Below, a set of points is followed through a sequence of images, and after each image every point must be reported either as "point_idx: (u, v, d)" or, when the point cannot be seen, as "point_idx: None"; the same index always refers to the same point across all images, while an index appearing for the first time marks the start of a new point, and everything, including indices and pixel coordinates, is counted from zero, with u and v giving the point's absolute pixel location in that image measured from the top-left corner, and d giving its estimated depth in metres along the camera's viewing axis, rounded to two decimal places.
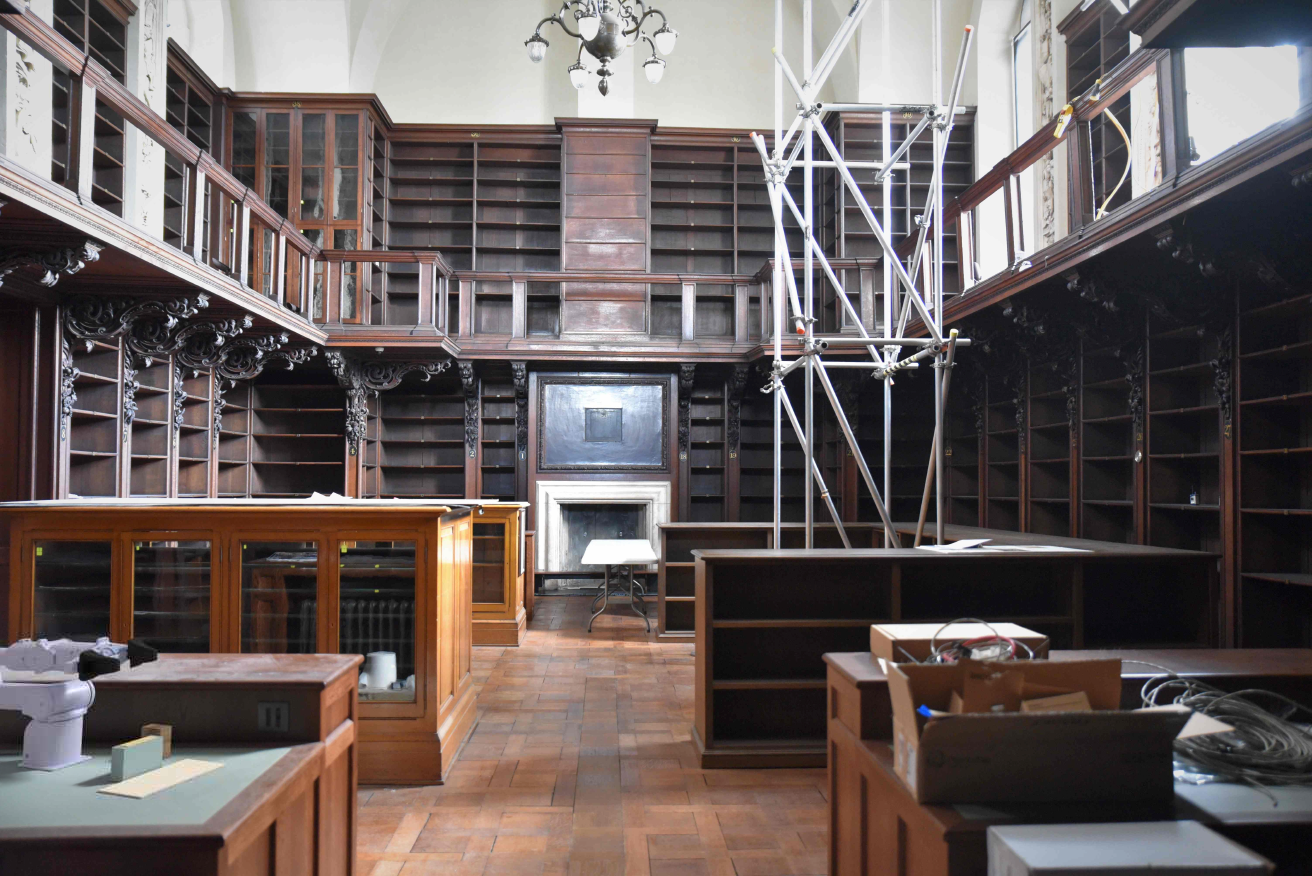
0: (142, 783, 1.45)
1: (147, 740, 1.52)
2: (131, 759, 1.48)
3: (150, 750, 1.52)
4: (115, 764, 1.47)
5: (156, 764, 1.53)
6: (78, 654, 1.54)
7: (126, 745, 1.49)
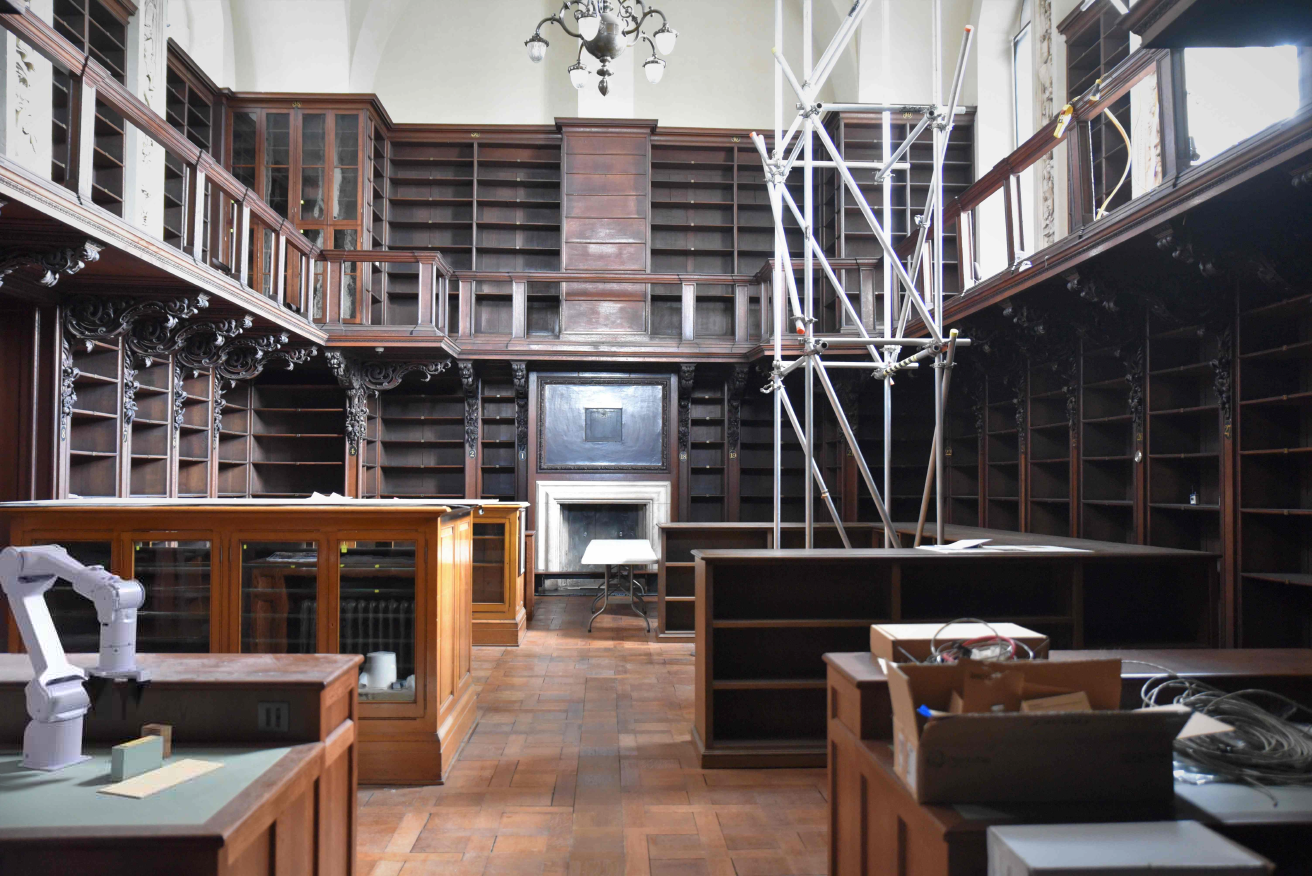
0: (142, 783, 1.45)
1: (147, 740, 1.52)
2: (131, 759, 1.48)
3: (150, 750, 1.52)
4: (115, 764, 1.47)
5: (156, 764, 1.53)
6: None
7: (126, 745, 1.49)
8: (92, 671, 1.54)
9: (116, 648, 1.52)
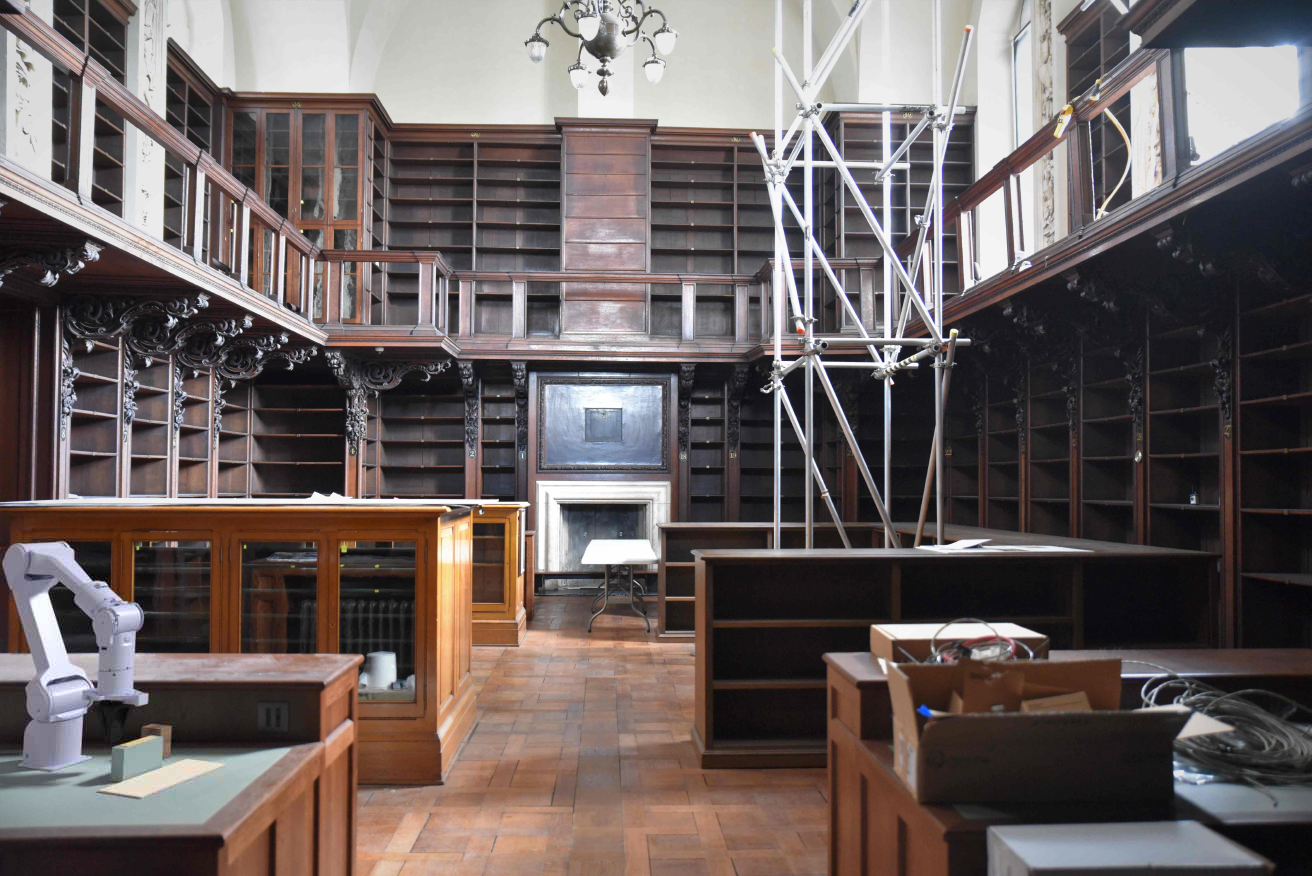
0: (142, 783, 1.45)
1: (147, 740, 1.52)
2: (131, 759, 1.48)
3: (150, 750, 1.52)
4: (115, 764, 1.47)
5: (155, 764, 1.53)
6: None
7: (126, 745, 1.49)
8: (90, 695, 1.53)
9: (114, 672, 1.52)
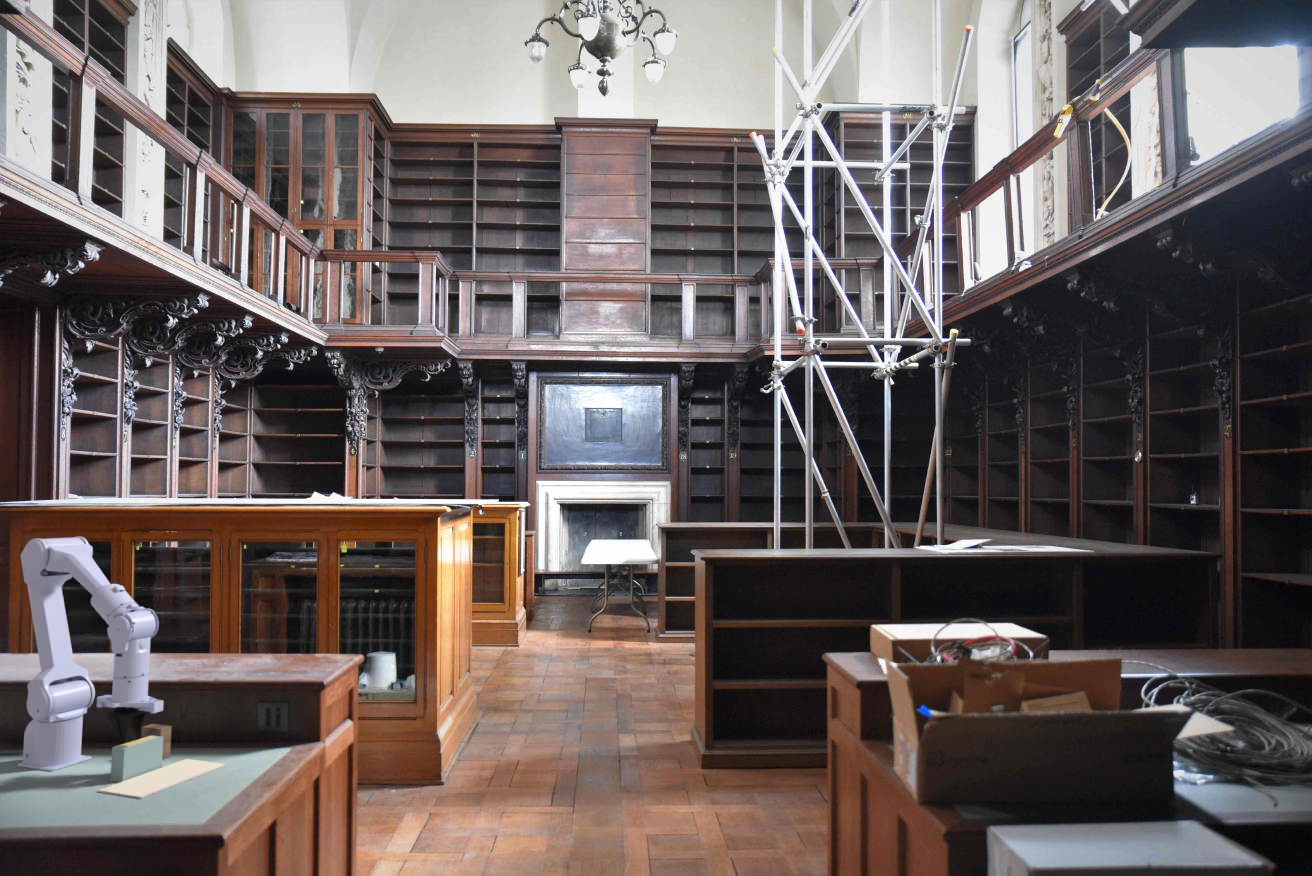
0: (142, 783, 1.45)
1: (147, 740, 1.52)
2: (131, 759, 1.48)
3: (150, 750, 1.52)
4: (115, 764, 1.47)
5: (155, 764, 1.53)
6: None
7: (126, 745, 1.49)
8: (105, 702, 1.52)
9: (129, 679, 1.50)
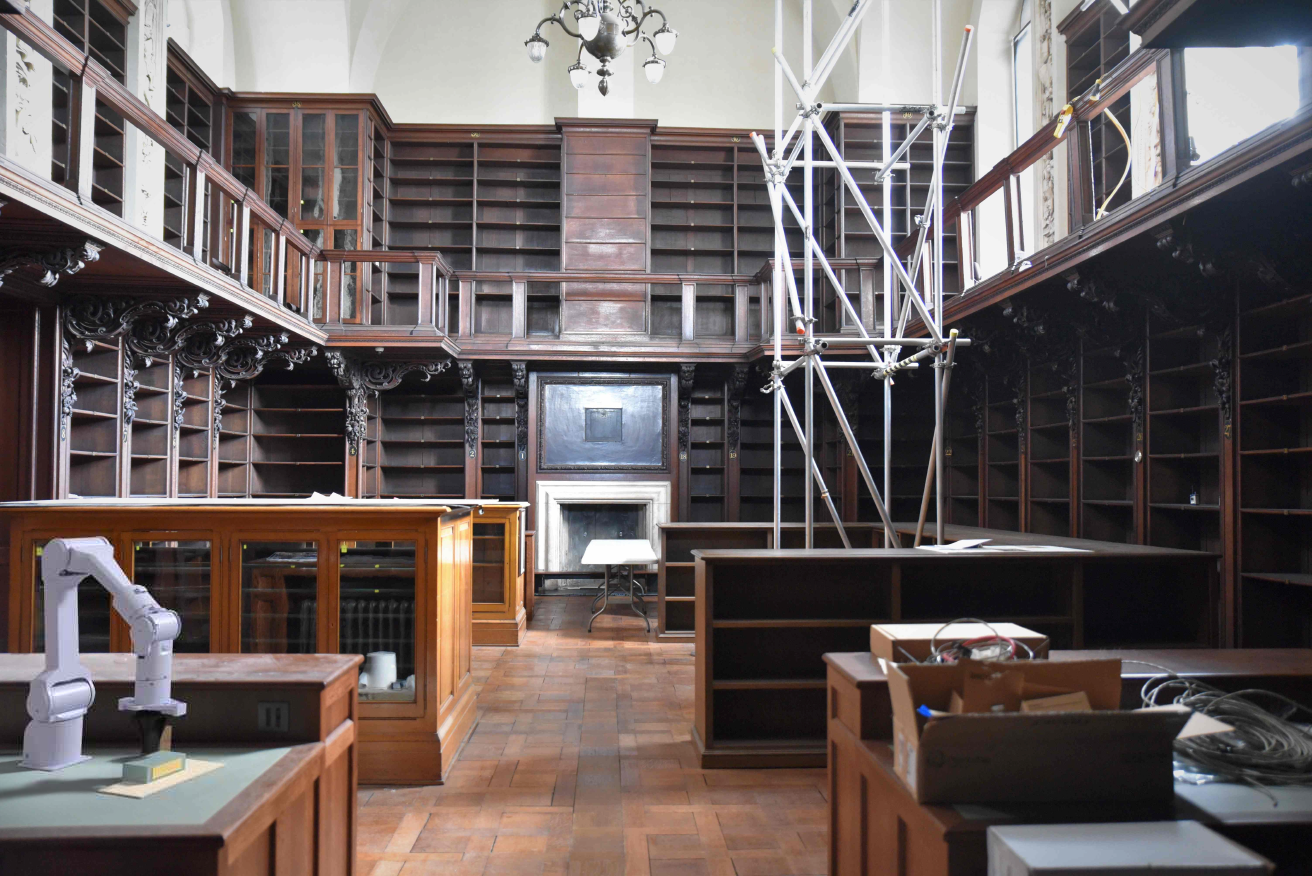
0: (142, 783, 1.45)
1: (171, 772, 1.50)
2: None
3: None
4: (135, 770, 1.46)
5: None
6: None
7: (154, 774, 1.46)
8: (127, 704, 1.50)
9: (152, 681, 1.49)
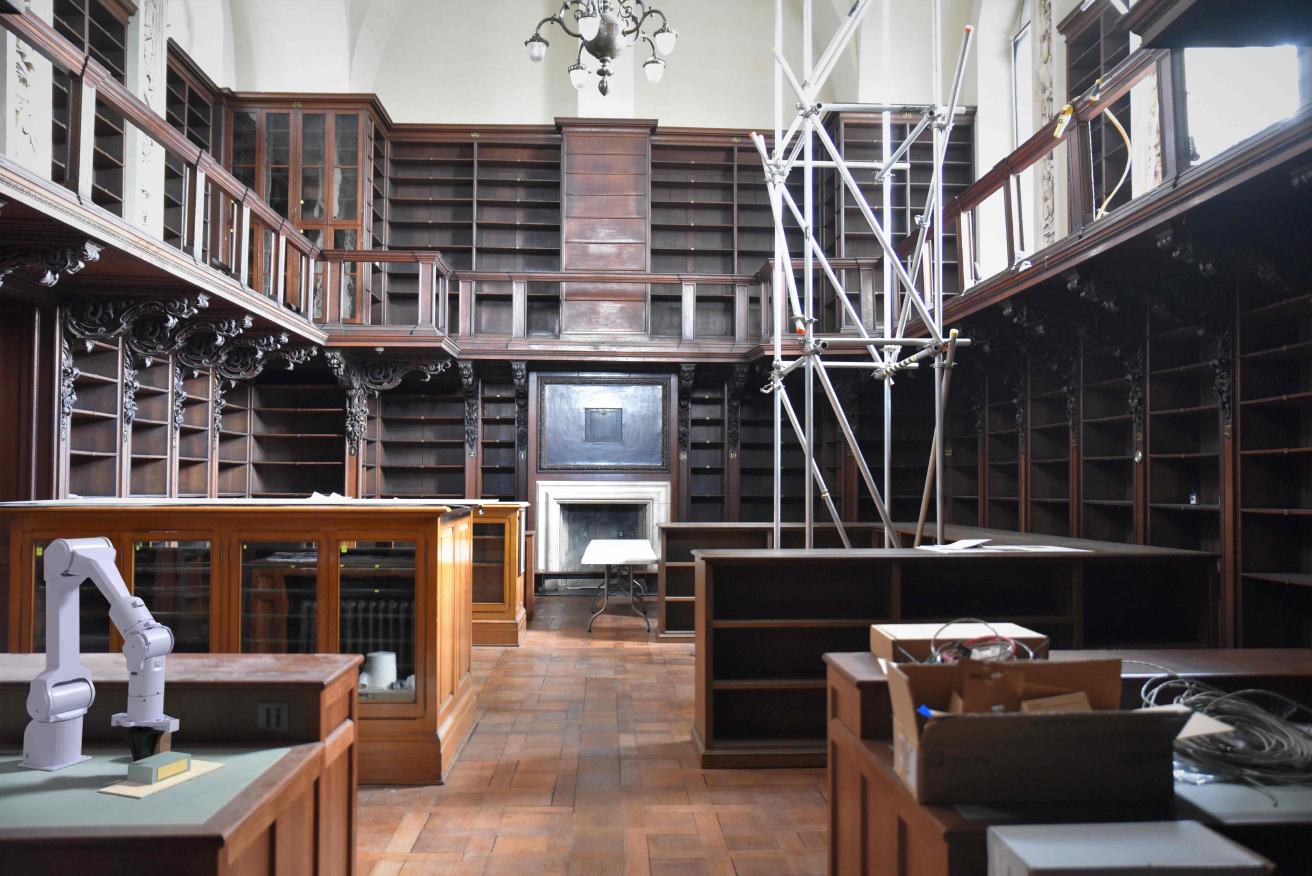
0: (142, 783, 1.45)
1: (177, 772, 1.49)
2: None
3: None
4: (140, 771, 1.45)
5: None
6: None
7: (159, 775, 1.46)
8: (120, 720, 1.51)
9: (145, 698, 1.49)
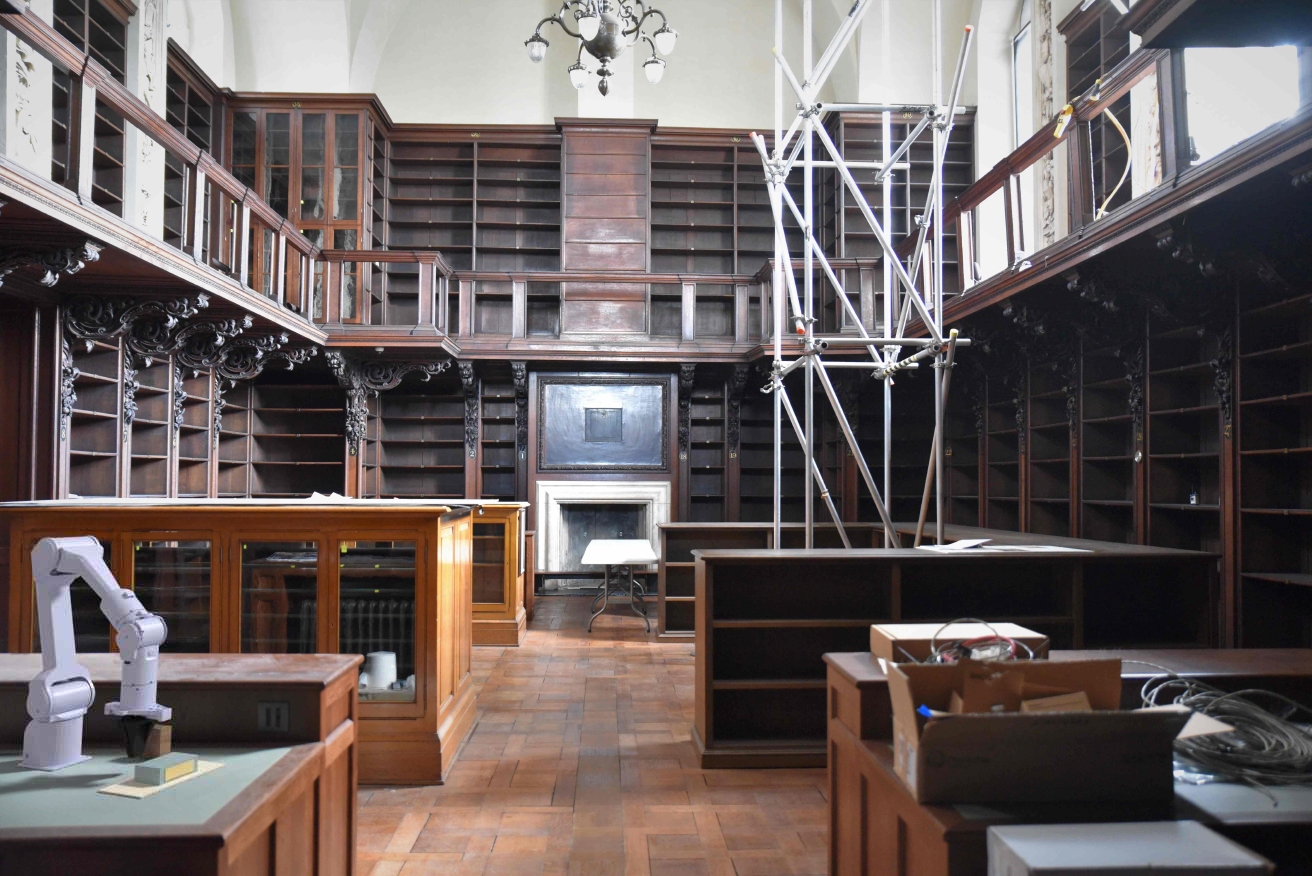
0: (142, 783, 1.45)
1: (184, 773, 1.49)
2: None
3: None
4: (147, 772, 1.45)
5: None
6: None
7: (166, 776, 1.45)
8: (113, 709, 1.52)
9: (138, 687, 1.50)
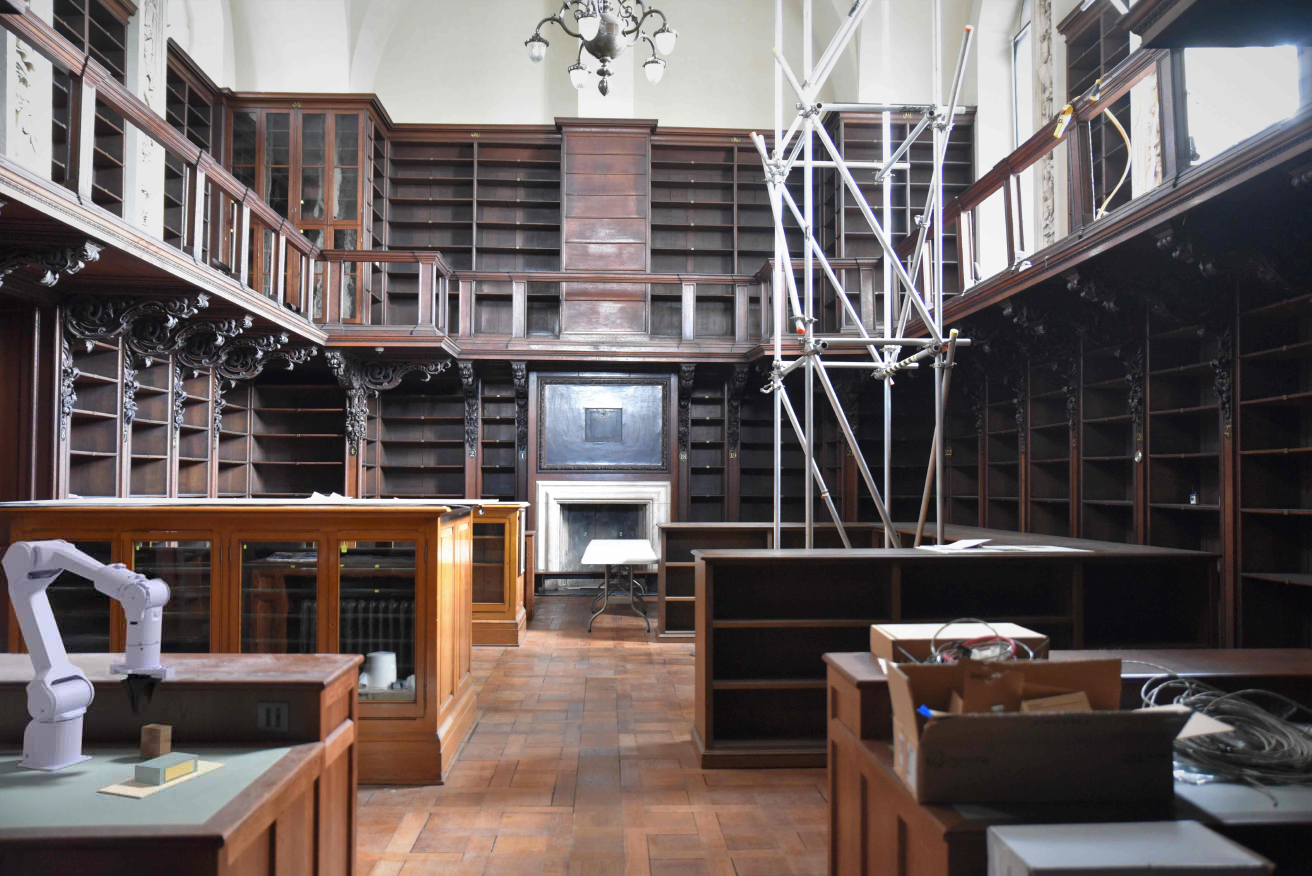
0: (142, 783, 1.45)
1: (184, 773, 1.49)
2: None
3: None
4: (147, 772, 1.45)
5: None
6: None
7: (166, 776, 1.45)
8: (118, 669, 1.56)
9: (142, 646, 1.54)
